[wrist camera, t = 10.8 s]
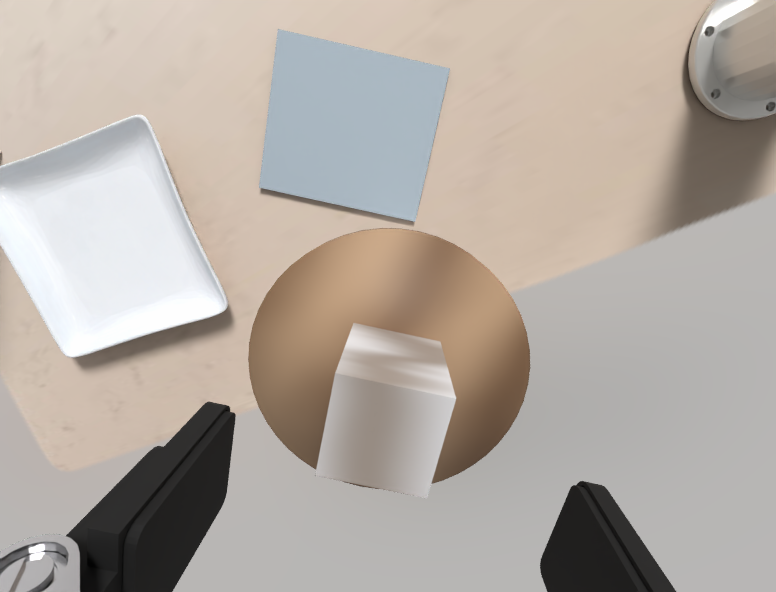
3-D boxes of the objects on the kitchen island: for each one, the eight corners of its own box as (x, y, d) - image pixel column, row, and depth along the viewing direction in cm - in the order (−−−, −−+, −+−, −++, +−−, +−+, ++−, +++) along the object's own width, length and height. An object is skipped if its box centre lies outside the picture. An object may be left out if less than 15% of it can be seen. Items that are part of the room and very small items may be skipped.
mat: (449, 70, 38) (449, 68, 37) (414, 221, 41) (415, 221, 41) (279, 31, 37) (278, 29, 37) (260, 187, 41) (259, 187, 40)
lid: (560, 262, 17) (642, 297, 11) (481, 496, 20) (513, 616, 15) (275, 199, 17) (209, 201, 11) (242, 447, 20) (177, 550, 14)
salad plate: (86, 351, 47) (63, 363, 44) (-7, 180, 42) (-42, 179, 39) (243, 303, 45) (230, 311, 41) (164, 116, 40) (142, 109, 36)
